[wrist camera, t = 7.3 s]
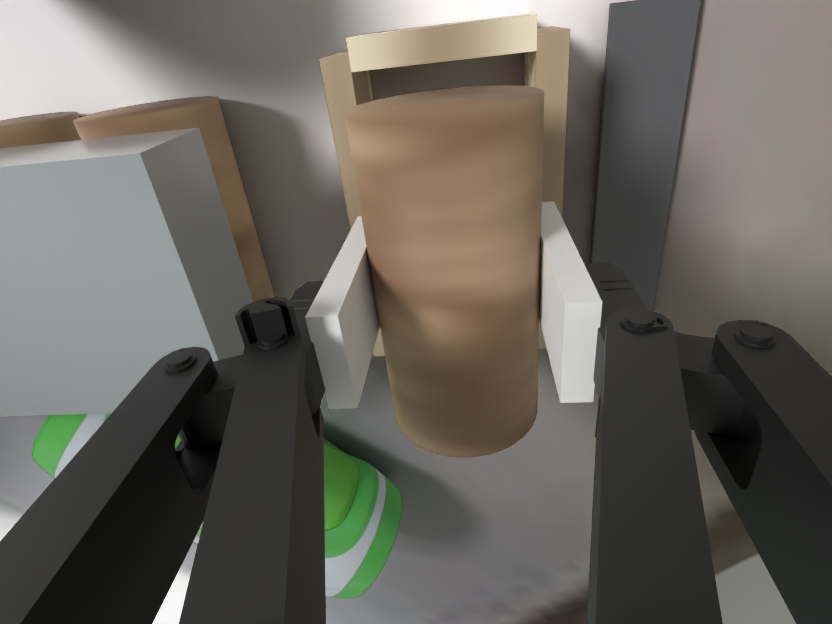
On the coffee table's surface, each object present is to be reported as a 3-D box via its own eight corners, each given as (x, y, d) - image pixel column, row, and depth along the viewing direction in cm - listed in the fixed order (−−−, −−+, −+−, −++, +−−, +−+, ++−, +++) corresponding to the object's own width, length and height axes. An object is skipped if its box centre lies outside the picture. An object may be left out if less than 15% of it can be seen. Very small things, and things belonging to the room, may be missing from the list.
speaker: (103, 395, 30) (6, 499, 24) (139, 311, 27) (37, 406, 20) (354, 515, 34) (329, 632, 28) (412, 456, 31) (400, 573, 24)
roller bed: (-3, 321, 27) (-88, 377, 23) (-120, 132, 22) (-258, 160, 18) (294, 303, 25) (260, 362, 21) (238, 92, 20) (178, 112, 16)
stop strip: (586, 313, 24) (587, 317, 24) (609, 3, 18) (611, 3, 18) (650, 310, 24) (652, 313, 24) (698, -8, 17) (702, -8, 17)
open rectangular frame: (385, 324, 26) (375, 365, 23) (338, 37, 19) (315, 41, 16) (544, 316, 25) (556, 358, 22) (552, 10, 18) (571, 10, 15)
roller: (399, 365, 20) (389, 461, 16) (358, 98, 15) (326, 130, 11) (525, 357, 20) (550, 453, 15) (526, 79, 15) (565, 105, 10)
